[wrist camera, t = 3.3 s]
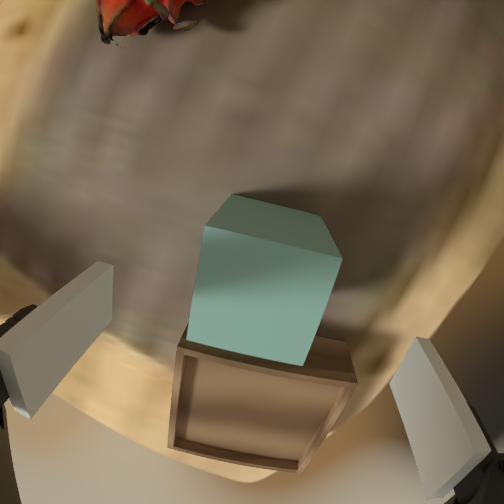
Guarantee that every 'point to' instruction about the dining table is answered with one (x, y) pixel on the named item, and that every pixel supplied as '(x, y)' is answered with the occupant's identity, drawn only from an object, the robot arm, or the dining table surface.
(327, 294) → the block
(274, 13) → the dining table surface
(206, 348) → the tray
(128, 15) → the dragon fruit
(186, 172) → the dining table surface
